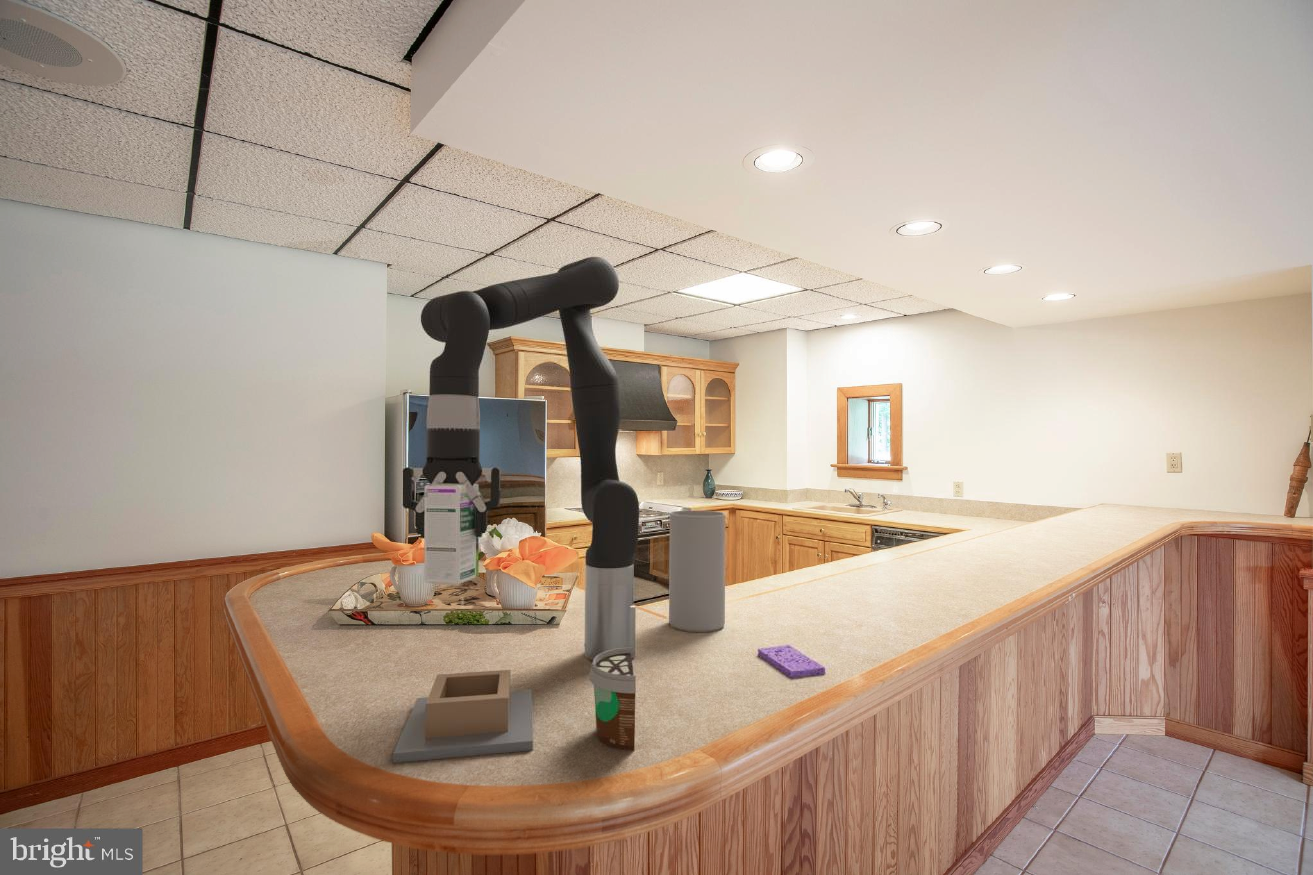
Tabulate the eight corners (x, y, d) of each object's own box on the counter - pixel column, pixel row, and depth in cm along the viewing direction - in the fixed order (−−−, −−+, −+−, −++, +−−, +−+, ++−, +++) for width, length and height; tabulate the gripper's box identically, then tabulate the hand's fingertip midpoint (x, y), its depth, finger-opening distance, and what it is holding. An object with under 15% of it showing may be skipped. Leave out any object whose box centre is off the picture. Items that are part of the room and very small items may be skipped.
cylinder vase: (665, 617, 141) (666, 510, 141) (718, 616, 142) (719, 510, 143) (672, 634, 128) (673, 516, 129) (730, 632, 130) (731, 516, 130)
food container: (589, 715, 89) (589, 646, 89) (630, 713, 89) (631, 645, 90) (586, 757, 77) (587, 678, 77) (635, 756, 77) (635, 677, 77)
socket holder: (531, 697, 95) (532, 660, 95) (532, 750, 78) (533, 705, 78) (417, 705, 91) (417, 668, 92) (392, 763, 75) (393, 716, 75)
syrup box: (458, 585, 86) (460, 484, 87) (422, 583, 88) (424, 483, 88) (479, 577, 92) (480, 482, 92) (444, 575, 93) (446, 481, 94)
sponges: (788, 653, 118) (788, 644, 118) (826, 676, 106) (826, 666, 106) (756, 657, 116) (756, 647, 116) (791, 681, 104) (791, 670, 104)
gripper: (504, 428, 95) (503, 533, 95) (408, 427, 93) (406, 534, 92) (501, 426, 88) (499, 540, 88) (396, 425, 85) (394, 542, 85)
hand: (452, 536), depth 90 cm, fingers closed on syrup box, 7 cm apart
